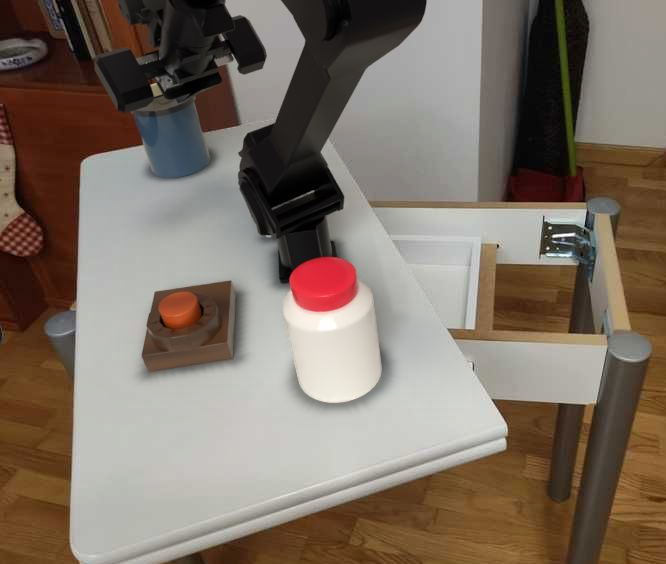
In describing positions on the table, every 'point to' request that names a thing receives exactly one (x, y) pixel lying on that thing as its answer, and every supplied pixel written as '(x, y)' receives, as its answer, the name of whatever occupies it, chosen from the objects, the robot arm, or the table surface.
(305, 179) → the robot arm
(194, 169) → the travel cup
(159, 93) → the cream wedge block
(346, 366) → the pill bottle
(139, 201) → the table surface
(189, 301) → the button
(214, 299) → the button block
